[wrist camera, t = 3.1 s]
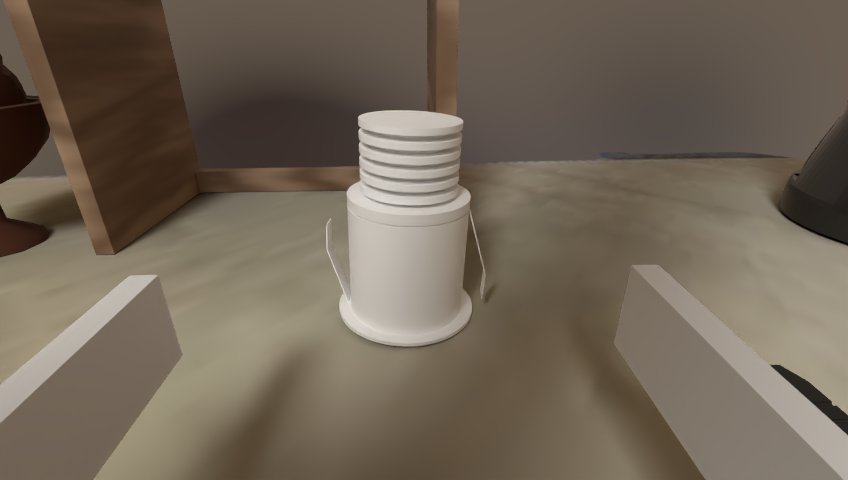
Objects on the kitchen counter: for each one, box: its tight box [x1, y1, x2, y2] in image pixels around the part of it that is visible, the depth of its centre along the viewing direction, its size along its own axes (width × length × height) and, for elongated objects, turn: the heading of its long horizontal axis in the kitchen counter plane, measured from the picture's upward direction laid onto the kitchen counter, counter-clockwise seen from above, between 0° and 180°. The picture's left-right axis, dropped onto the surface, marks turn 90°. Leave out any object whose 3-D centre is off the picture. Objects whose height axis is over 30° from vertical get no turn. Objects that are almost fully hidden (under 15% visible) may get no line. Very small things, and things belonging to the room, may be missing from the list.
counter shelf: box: [4, 0, 459, 255], centre depth 31 cm, size 24×14×22 cm, turn 92°
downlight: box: [326, 110, 486, 347], centre depth 21 cm, size 8×7×10 cm
